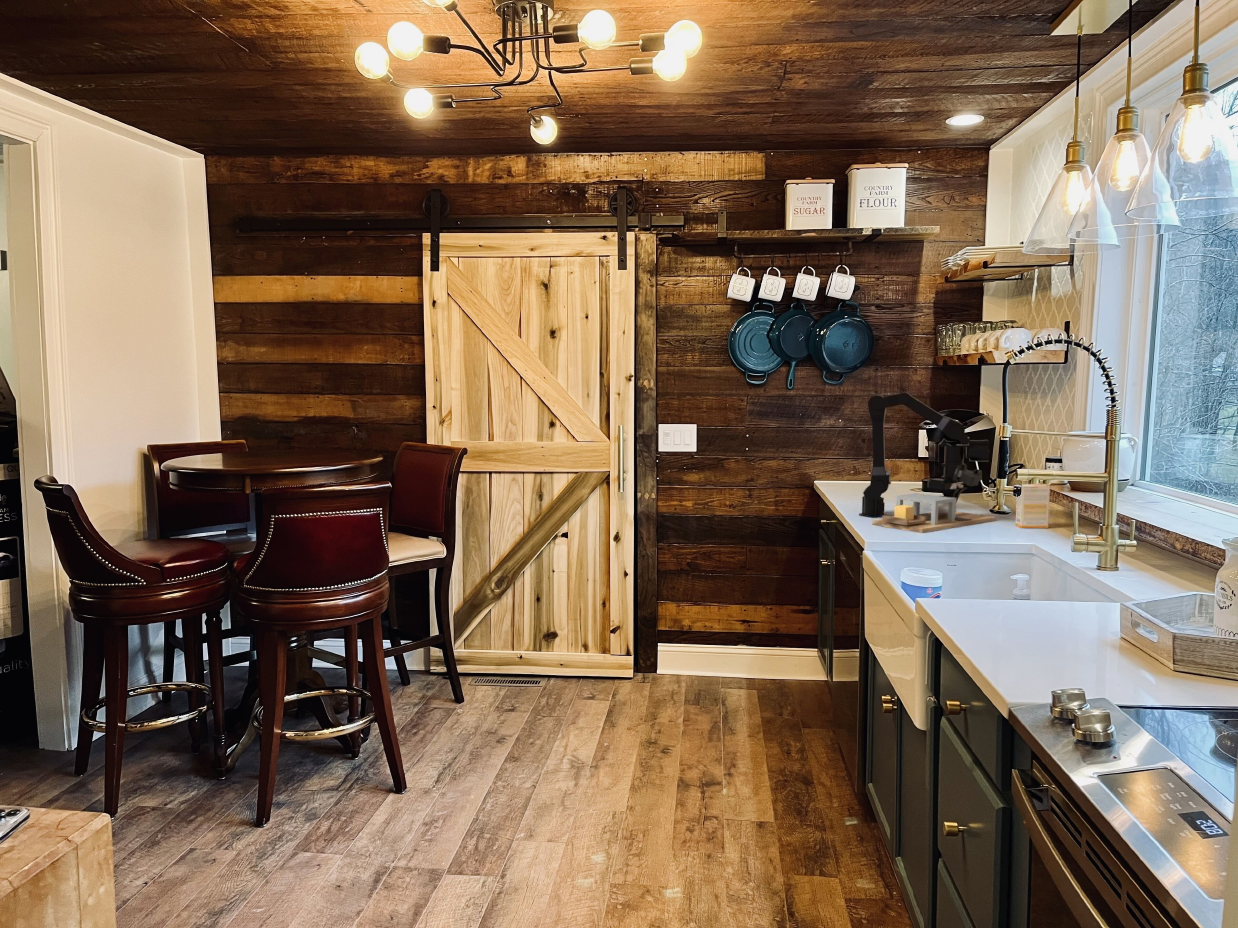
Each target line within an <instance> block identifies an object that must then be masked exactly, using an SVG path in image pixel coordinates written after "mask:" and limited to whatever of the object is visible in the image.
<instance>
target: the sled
mask: <svg viewBox="0 0 1238 928" xmlns="http://www.w3.org/2000/svg"><path fill="white" fill-rule="evenodd" d="M940 496H941V497H947V496H944V495H940ZM949 498H955V497H949ZM948 504H949V502H948V503H941V504H938V518H939V517H945V516H948ZM956 511H957V503H956V498H955V517H956ZM881 519H882V521H883V522H889V523H895V524H901V525H913V524H920V523H926V519H931V515H924V516H918V515H914V520H909V519H903V518H897V517H894V516H890V515H886V516H884V515H883V516H881Z"/></svg>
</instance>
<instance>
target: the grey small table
mask: <svg viewBox="0 0 1238 928" xmlns="http://www.w3.org/2000/svg"><path fill="white" fill-rule="evenodd" d="M941 496H942V495H933V494H924V493H910V494H900V495H896V505H895V506H899V505H904V501H909V502H913V504H912V505H913V507H914V515H918V516H919V515H920V514H921V513H920V511H921V509H920V508H921V503H924V504H930V505H931V511H930V512H931V524H932V525H938V504H941V503H948V502H949V504H948V522H955V498H949V497H941Z"/></svg>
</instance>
